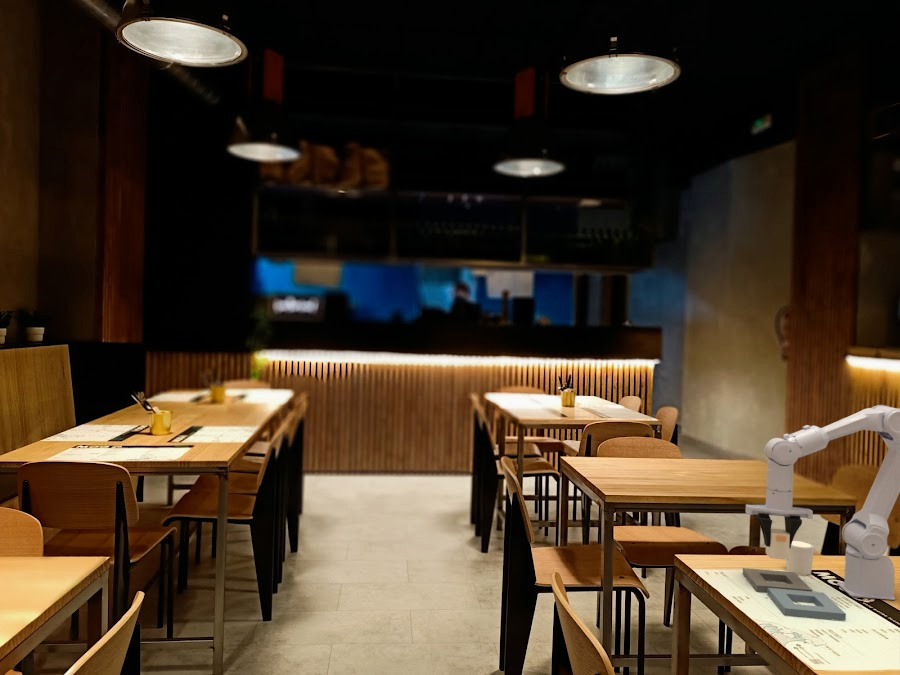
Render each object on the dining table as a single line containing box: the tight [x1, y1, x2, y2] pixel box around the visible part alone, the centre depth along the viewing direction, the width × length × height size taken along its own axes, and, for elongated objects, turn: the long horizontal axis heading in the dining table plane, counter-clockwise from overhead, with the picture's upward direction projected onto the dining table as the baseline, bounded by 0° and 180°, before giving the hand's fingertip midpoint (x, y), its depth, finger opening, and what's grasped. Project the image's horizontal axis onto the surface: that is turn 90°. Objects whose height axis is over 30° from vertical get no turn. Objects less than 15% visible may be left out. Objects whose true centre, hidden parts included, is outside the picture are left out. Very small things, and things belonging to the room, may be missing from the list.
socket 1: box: [742, 567, 813, 594], centre depth 162 cm, size 12×12×2 cm
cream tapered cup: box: [785, 539, 816, 576], centre depth 172 cm, size 7×7×7 cm
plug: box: [765, 528, 790, 561], centre depth 161 cm, size 4×5×6 cm
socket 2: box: [766, 588, 847, 621], centre depth 149 cm, size 12×12×2 cm
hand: (777, 546), depth 162 cm, fingers closed on plug, 4 cm apart
